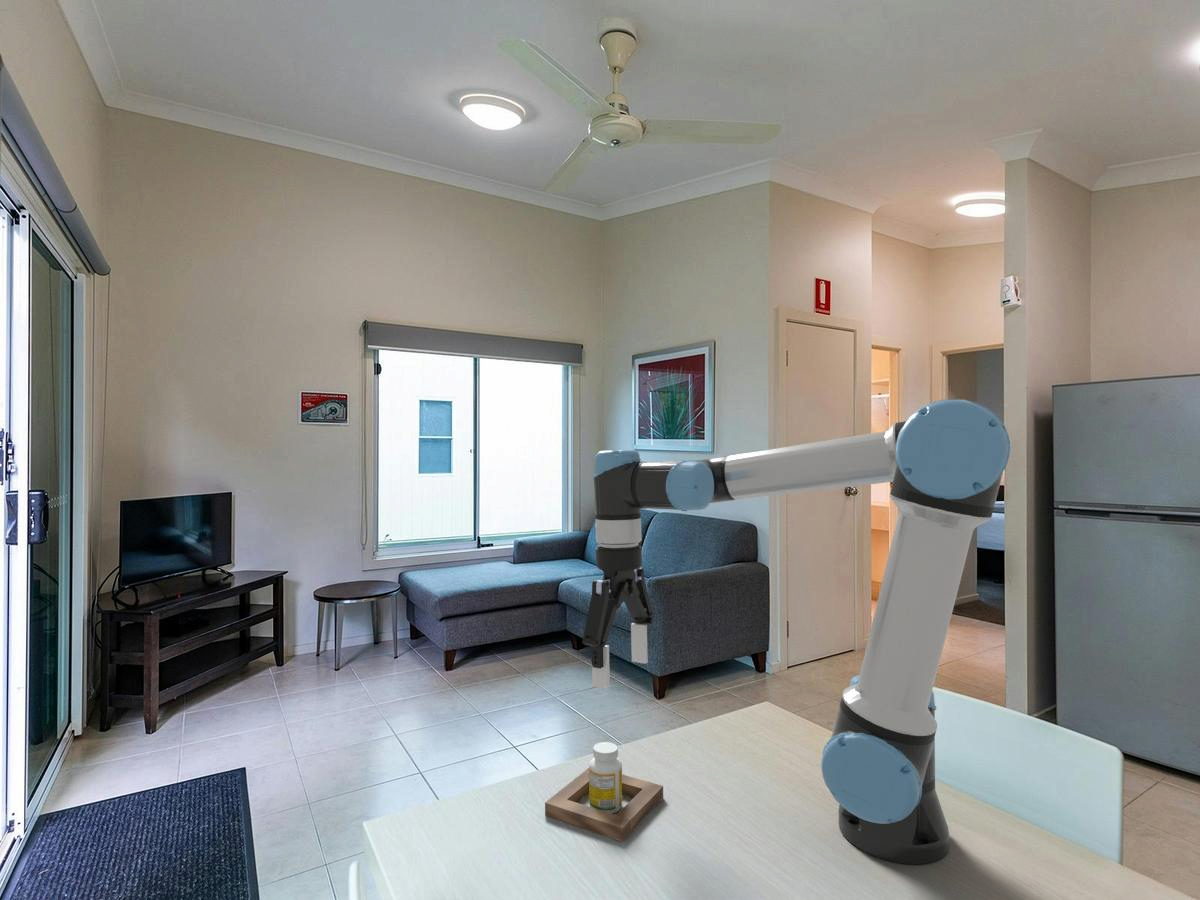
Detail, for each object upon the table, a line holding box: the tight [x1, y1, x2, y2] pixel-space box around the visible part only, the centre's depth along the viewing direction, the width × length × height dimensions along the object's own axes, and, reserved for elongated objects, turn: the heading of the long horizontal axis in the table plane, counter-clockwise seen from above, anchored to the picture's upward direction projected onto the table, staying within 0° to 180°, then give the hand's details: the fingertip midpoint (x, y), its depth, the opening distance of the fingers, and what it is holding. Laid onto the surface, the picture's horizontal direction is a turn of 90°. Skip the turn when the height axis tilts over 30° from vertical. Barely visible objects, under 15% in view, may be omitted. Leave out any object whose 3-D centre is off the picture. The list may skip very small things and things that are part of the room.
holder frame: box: [544, 767, 664, 842], centre depth 107 cm, size 14×14×2 cm
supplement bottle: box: [588, 741, 623, 814], centre depth 107 cm, size 5×5×10 cm
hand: (621, 674), depth 108 cm, fingers open, 13 cm apart
